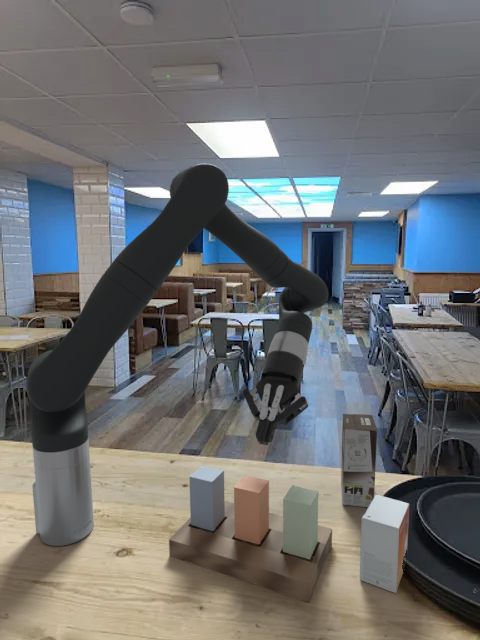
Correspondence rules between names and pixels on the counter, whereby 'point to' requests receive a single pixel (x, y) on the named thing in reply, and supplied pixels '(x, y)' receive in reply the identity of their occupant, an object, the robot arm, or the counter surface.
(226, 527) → the walnut board
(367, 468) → the coffee box
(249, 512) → the terracotta block
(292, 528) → the sage block
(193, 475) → the slate block
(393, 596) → the counter surface
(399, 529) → the small box
